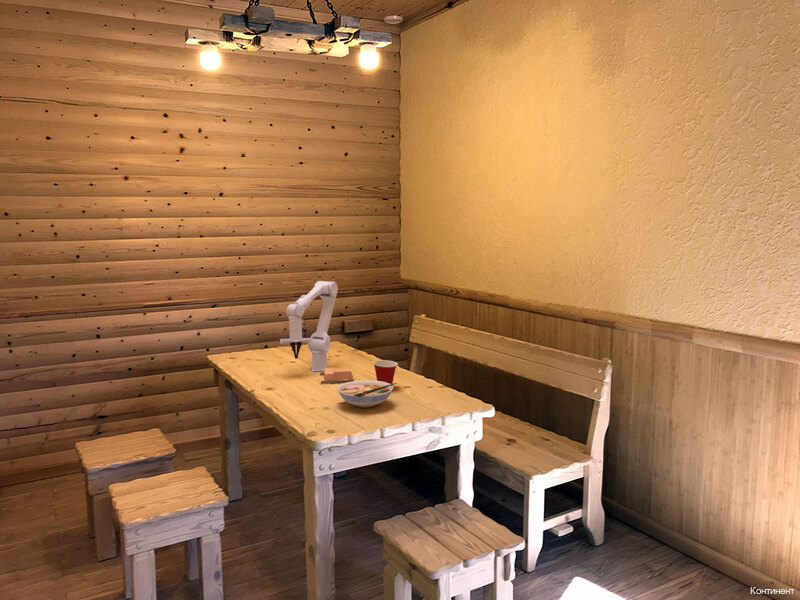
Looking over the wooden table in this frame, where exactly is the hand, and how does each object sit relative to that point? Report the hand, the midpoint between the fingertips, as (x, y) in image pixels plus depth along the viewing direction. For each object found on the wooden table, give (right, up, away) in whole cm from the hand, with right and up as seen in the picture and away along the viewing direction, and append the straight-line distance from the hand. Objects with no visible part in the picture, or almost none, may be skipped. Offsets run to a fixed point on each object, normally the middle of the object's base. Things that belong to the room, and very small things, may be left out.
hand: (296, 358), depth 308 cm
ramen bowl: (+35, -15, -44) cm, 58 cm away
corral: (+19, -10, -2) cm, 21 cm away
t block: (+19, -10, -2) cm, 22 cm away
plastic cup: (+42, -12, -20) cm, 48 cm away
